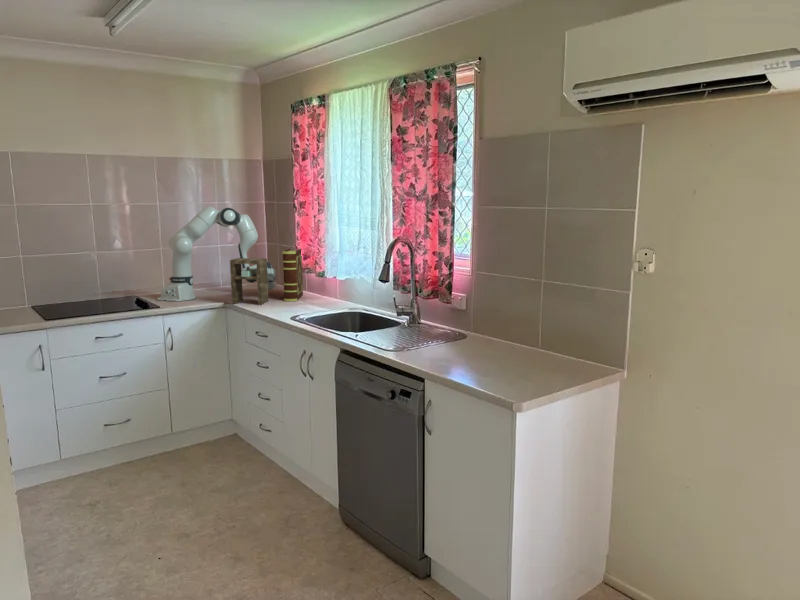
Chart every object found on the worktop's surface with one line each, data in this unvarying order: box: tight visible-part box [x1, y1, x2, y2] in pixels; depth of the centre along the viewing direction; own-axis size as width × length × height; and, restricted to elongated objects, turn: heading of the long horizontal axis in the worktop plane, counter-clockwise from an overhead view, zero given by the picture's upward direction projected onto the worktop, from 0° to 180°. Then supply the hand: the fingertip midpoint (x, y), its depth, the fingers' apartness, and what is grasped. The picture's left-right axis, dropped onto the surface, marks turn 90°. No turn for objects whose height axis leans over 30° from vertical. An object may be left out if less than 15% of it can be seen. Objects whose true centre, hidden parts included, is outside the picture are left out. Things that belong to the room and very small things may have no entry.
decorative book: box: [281, 248, 304, 302], centre depth 363 cm, size 22×8×30 cm, turn 179°
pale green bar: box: [241, 268, 257, 277], centre depth 349 cm, size 4×19×3 cm, turn 172°
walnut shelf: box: [229, 257, 269, 306], centre depth 347 cm, size 18×11×26 cm, turn 82°
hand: (254, 267), depth 355 cm, fingers open, 8 cm apart
